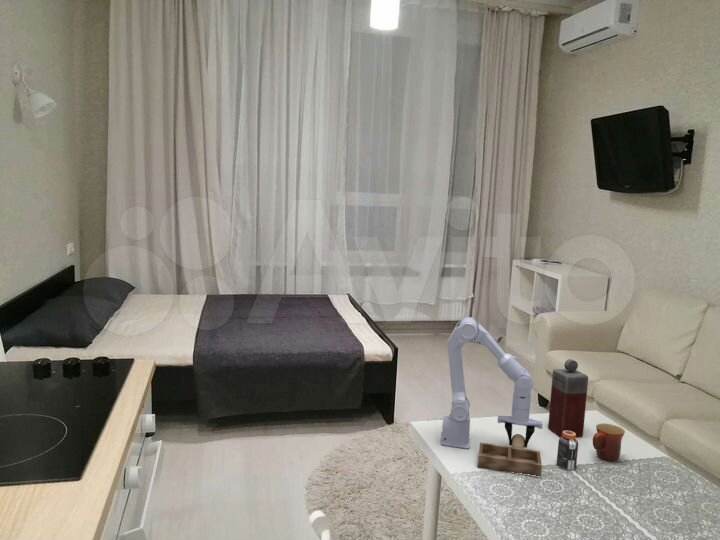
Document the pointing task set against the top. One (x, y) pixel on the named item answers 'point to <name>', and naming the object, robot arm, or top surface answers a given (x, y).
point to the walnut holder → (509, 459)
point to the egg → (518, 441)
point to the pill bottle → (567, 450)
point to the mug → (608, 441)
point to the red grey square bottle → (568, 400)
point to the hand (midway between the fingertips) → (517, 445)
